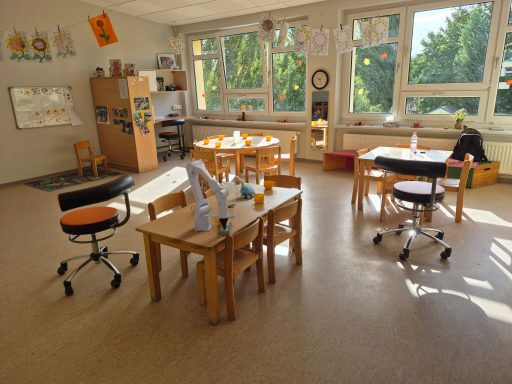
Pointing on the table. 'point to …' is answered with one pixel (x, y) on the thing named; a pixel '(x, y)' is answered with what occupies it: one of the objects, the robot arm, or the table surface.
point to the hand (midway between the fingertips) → (224, 229)
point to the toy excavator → (245, 189)
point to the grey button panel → (226, 231)
